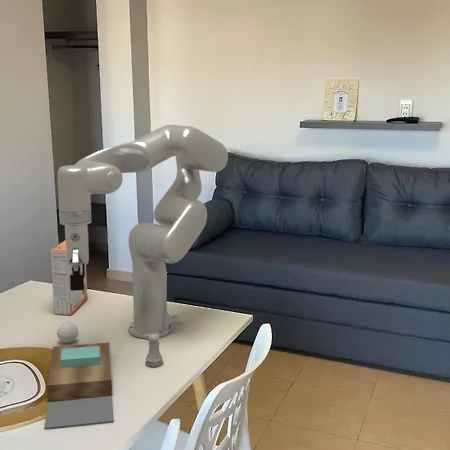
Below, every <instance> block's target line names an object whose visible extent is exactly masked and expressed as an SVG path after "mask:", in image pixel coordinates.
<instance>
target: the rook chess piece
mask: <svg viewBox="0 0 450 450" xmlns="http://www.w3.org/2000/svg"><path fill="white" fill-rule="evenodd" d="M146 339H147V340H148V345H149V346H148V353H147V355H146V358H145V362H144V363H145V364H146V366H147V367H150V368H158V367H160V366H161V365H163V363H164V362H163V358H164V357H163V356H162V354H161V351H160V344H161V343H160V340H161V337H160V336H159V334H157V333H155V334H153V333H152V335H151V334H149V337H148V338H146Z"/></svg>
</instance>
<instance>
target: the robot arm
mask: <svg viewBox="0 0 450 450" xmlns="http://www.w3.org/2000/svg"><path fill="white" fill-rule="evenodd" d="M228 153H229V152H228V150H227V148H226V147H225V145H224V144H223V143H222V142H221V141H218V140H217V139H215V138H214V137H212V136H210V135H209V134H207V133H205V132H204V131H202V130H200V129H198V128H196V127H193V126H189V125H181V124H180V125H179V124H177V125H176V124H167V125H163V126H161V127H159V128H157V129H155V130H153V131H151V132H148V133H147V134H145V135H143V136H141V137H138V138H137V139H135V140H132V141H129V142H126V143H121V144H119V145H115V146H110V147H106V148H104V149H101V150H98V151H95V152H93V153H91V154H89V155H87V156H85V157H83V158H81V159H80V160H78V161H77V162H76V163H75V164H74V165H72V164H70V165H63V166H60V167H59V168H58V169H57V188H58V189H57V192H58V193H57V194H58V195H57V196H58V215H59V216H58V217H59V224H60V225H62V226H64V234H65V235H64V236H65V240H66V252H67V261H68V264H69V265H71V274H70V290H71V291H78V290H84V277H85V264H86V266H87V265H88V264H89V262H90V260H89V259H90V257H89V255H90V254H89V253H90V251H89V250H90V249H89V228H88V225H89V224H91V223H92V202H91V201H92V200H91V199H92V197H91V195H108V194H112V193H115V192H117V191H118V190H119V189H120V187H121V186H122V183H123V174H130V173H133V174H134V173H140V172H141V173H142V172H145V171H148V170H151V169H152V168H154V167H156V166H157V165H159V164H161V163H162V162H164V161H167V160H169V159H171V158H172V157H175V162H176V176H175V179H174V180H173V183H172V184H171V186H170V187H169V188H168V190H167V191H166V192H165V194H163V196H162V197H161V198H160V200H159V201H158V203H157V204H156V206H155V208H154V211H153V218H154V220H155V221H156V223H152V222H140V223H137V224H136V225H134V226H133V227H132V229H131V230H130V232H129V235H128V242H127V243H128V248H129V253H130V257H131V265H132V266H131V267H132V298H133V299H132V300H133V301H132V303H133V307H132V308H133V321H132V322H130V323H129V325H128V333H130V335H131V336H133V337H136V338H139V339H147V338H148V337H149V334H151V335H152V333H153V334H155V333H157V334H159V336H160V338H162V337H165V336H168V335H169V334H170V333H171V332H172V331H173V325H175V324H176V325H181V324H184V317H183V316H178V314H172V315H170V314H169V313H168V310H167V309H168V304H167V301H168V298H167V296H168V294H167V291H168V287H167V285H168V284H167V282H168V281H167V279H168V275H167V266H166V264H169V265H170V264H171V265H172V264H175V263H178V262H180V261H181V260H183V258H184V257H185V255H186V254H187V253H188V252H189V250H190V249H191V247H192V246H193V244H194V243H195V242H196V240H197V239H198V238H199V236H200V234H201V233H202V232H203V230H204V228H205V226H206V224H207V221H208V220H207V219H208V211H207V207H206V205H205V204H204V203H203V202H202V201H201V200H199V198H200V195H201V194H202V189H203V185H202V180H201V175H200V171H203V172H209V173H218V172H221V171H222V170H223V169H224V168H226V166H227V164H228V162H229V161H228V160H229V154H228ZM72 261H73V262H72Z"/></svg>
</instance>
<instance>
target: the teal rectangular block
mask: <svg viewBox="0 0 450 450" xmlns="http://www.w3.org/2000/svg"><path fill="white" fill-rule="evenodd" d="M88 365H100V349H99V346H93V347H80V348H67V349H62V351H61V368H64V367H76V366H88Z"/></svg>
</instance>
